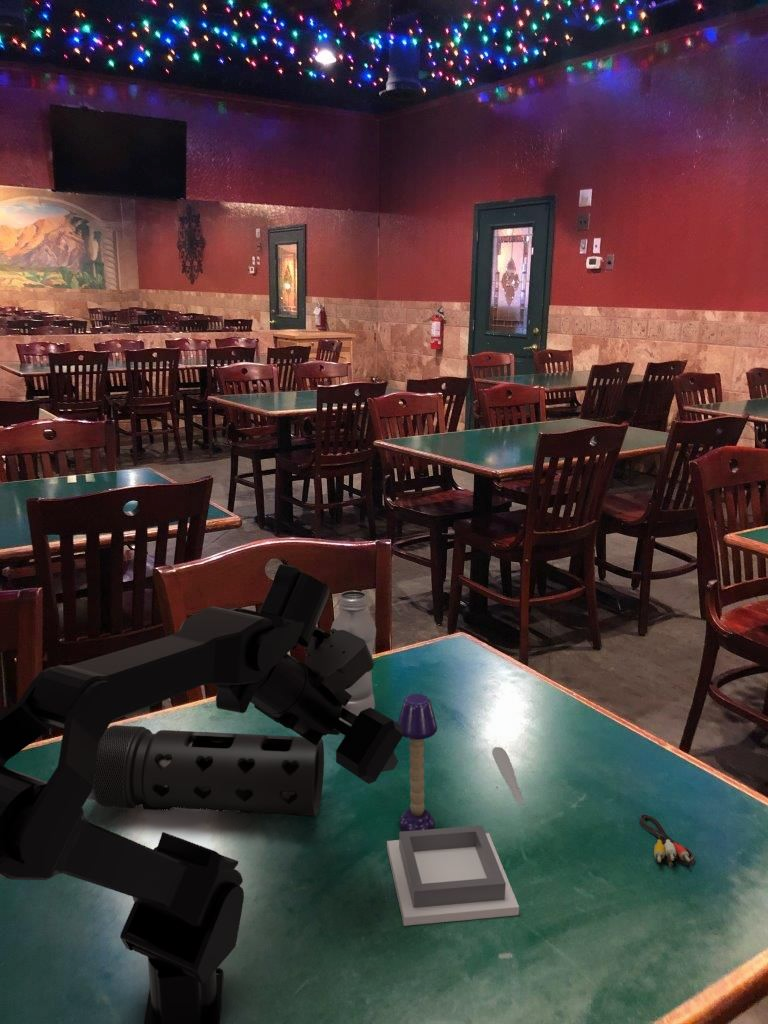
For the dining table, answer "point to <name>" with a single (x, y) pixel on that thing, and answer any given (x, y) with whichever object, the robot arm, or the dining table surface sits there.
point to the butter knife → (507, 772)
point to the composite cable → (666, 844)
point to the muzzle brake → (208, 771)
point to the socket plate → (449, 876)
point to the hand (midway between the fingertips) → (366, 747)
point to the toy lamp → (417, 758)
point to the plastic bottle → (364, 627)
